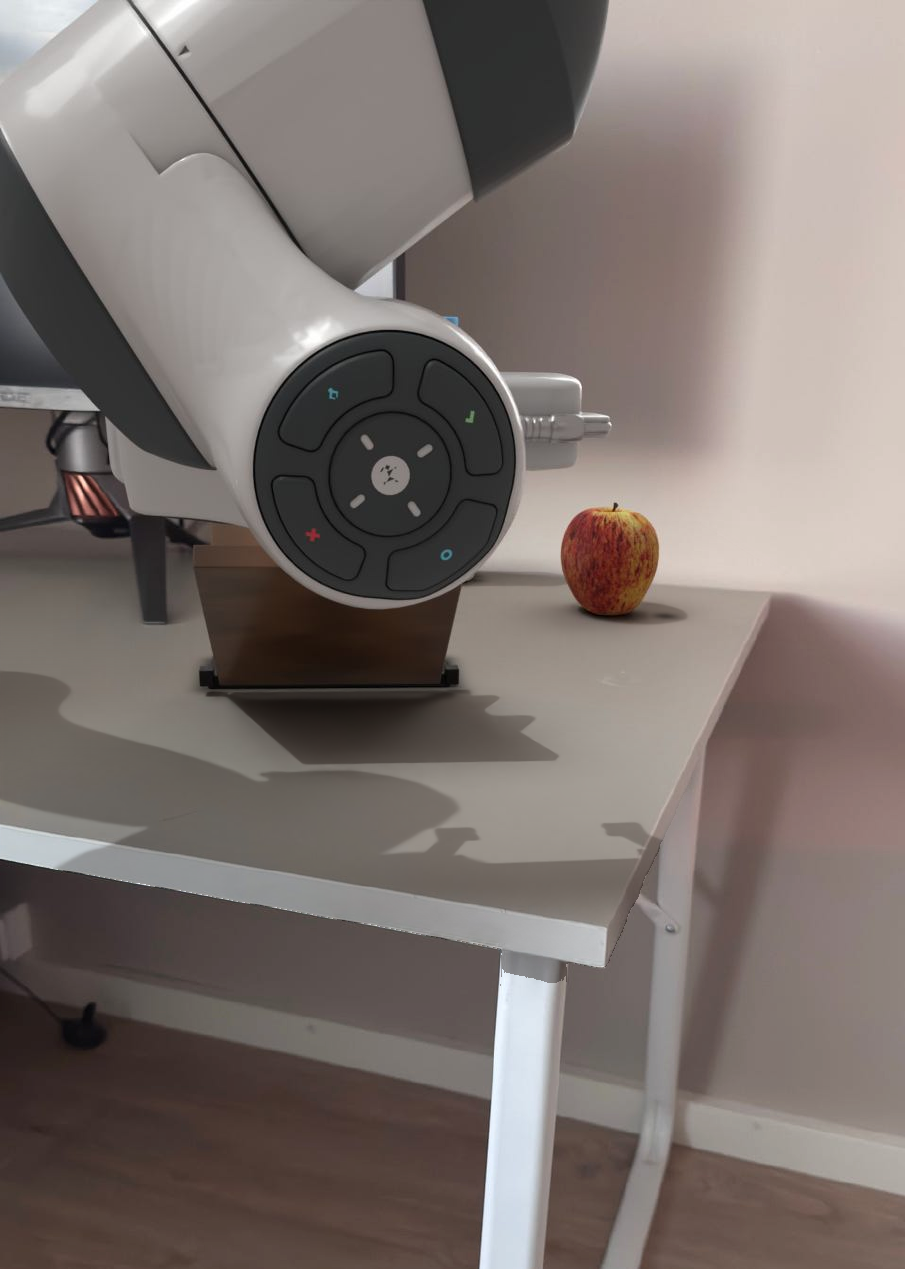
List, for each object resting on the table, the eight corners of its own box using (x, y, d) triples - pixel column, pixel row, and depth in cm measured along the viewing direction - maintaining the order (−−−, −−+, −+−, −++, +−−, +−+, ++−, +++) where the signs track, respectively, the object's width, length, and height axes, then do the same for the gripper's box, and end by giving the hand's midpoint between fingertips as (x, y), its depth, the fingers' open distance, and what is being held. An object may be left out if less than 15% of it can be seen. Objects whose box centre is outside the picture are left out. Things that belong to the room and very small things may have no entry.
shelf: (219, 685, 87) (192, 567, 70) (220, 603, 89) (194, 469, 72) (439, 684, 89) (466, 568, 72) (436, 603, 91) (460, 472, 74)
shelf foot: (200, 696, 87) (198, 670, 87) (209, 661, 95) (208, 637, 95) (458, 693, 89) (459, 669, 89) (446, 659, 97) (447, 637, 97)
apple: (537, 607, 114) (542, 499, 110) (604, 595, 119) (612, 492, 115) (605, 628, 108) (614, 514, 104) (674, 614, 113) (684, 506, 109)
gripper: (629, 342, 46) (553, 340, 58) (70, 334, 43) (118, 333, 56) (618, 513, 48) (547, 474, 61) (87, 514, 45) (130, 474, 58)
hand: (338, 406), depth 58 cm, fingers open, 8 cm apart
